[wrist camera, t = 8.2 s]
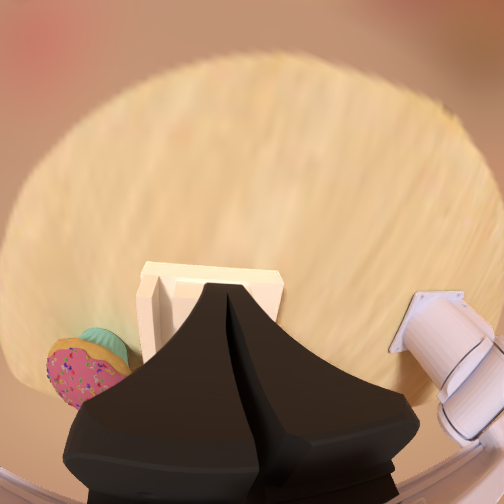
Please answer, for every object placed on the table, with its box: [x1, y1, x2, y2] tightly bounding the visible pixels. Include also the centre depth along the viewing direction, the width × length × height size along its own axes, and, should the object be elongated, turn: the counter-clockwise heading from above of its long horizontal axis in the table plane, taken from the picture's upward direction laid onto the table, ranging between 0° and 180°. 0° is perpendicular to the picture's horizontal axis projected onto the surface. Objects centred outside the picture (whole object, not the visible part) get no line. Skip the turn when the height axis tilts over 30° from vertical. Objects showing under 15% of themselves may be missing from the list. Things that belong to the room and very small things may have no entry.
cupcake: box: [46, 328, 132, 410], centre depth 17 cm, size 9×8×12 cm
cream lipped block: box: [136, 261, 284, 363], centre depth 21 cm, size 10×13×5 cm
